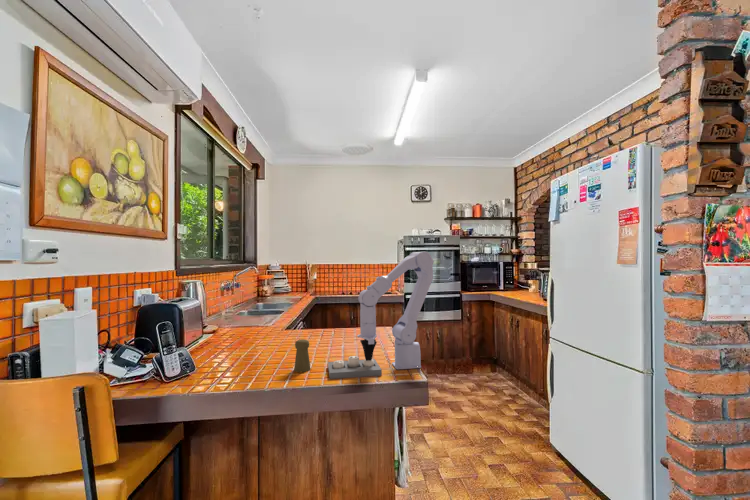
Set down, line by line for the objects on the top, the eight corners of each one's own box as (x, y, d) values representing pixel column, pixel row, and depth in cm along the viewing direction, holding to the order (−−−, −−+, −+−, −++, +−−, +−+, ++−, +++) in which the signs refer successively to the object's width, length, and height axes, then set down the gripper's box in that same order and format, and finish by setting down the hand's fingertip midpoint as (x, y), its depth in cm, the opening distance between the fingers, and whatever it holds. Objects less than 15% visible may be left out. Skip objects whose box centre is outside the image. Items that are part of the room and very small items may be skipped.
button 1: (372, 366, 137) (372, 358, 137) (374, 369, 133) (374, 360, 134) (362, 367, 137) (362, 358, 137) (364, 370, 133) (364, 361, 133)
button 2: (358, 363, 136) (358, 355, 136) (359, 366, 133) (359, 358, 133) (348, 364, 136) (347, 356, 136) (349, 367, 132) (348, 358, 132)
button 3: (343, 368, 135) (343, 359, 135) (344, 371, 132) (344, 362, 132) (333, 369, 135) (332, 360, 135) (333, 372, 131) (333, 363, 131)
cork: (312, 367, 140) (312, 338, 140) (308, 372, 134) (307, 341, 134) (296, 367, 140) (296, 338, 140) (291, 372, 134) (291, 341, 134)
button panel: (374, 364, 143) (374, 359, 143) (381, 375, 129) (381, 369, 129) (328, 367, 139) (327, 361, 139) (329, 378, 126) (329, 373, 126)
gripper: (354, 320, 142) (355, 355, 142) (359, 326, 128) (360, 366, 127) (373, 319, 143) (373, 354, 143) (379, 325, 129) (380, 364, 128)
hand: (368, 359), depth 135 cm, fingers closed, pressing on button 1
